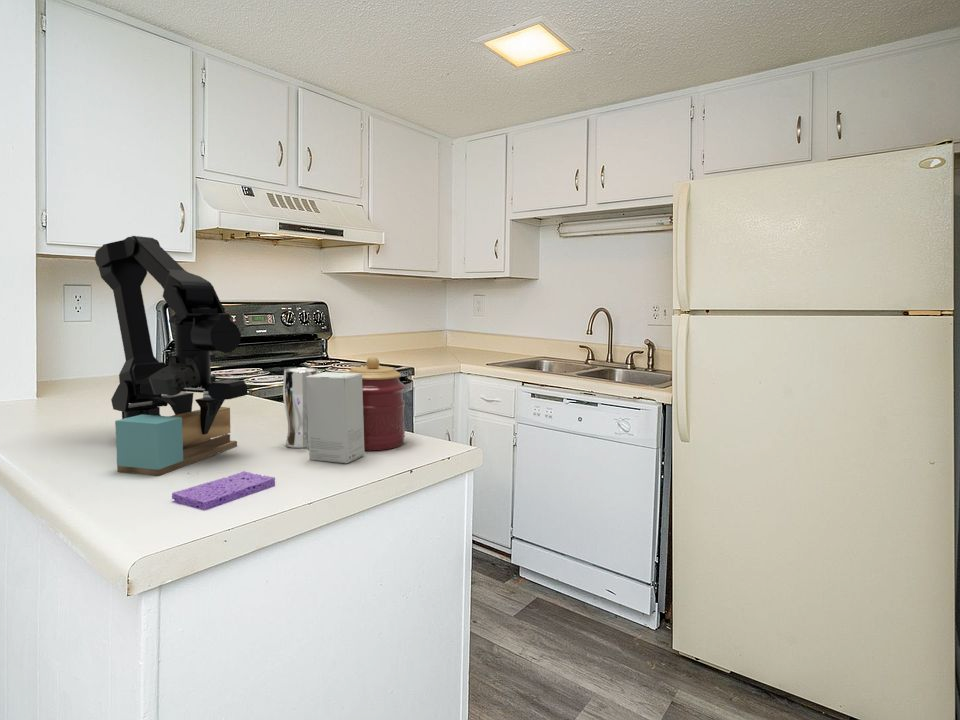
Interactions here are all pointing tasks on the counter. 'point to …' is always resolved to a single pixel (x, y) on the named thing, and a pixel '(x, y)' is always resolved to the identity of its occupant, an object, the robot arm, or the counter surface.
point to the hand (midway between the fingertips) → (195, 433)
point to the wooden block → (193, 426)
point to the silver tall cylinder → (296, 405)
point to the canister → (381, 406)
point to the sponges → (223, 490)
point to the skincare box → (335, 416)
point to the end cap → (149, 441)
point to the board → (189, 455)
